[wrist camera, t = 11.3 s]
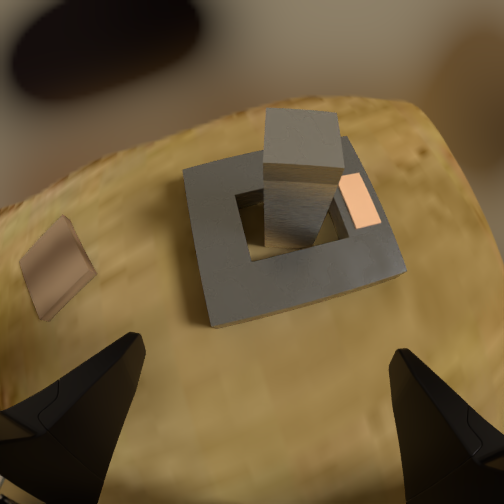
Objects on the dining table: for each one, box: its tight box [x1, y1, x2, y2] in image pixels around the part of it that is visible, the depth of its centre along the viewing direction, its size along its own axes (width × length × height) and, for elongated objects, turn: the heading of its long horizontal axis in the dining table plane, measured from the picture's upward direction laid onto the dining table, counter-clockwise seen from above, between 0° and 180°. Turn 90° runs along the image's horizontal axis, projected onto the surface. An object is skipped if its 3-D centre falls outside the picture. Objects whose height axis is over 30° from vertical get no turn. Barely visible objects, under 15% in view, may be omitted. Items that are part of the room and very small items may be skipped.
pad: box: [19, 214, 97, 321], centre depth 24 cm, size 8×8×2 cm
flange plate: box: [183, 136, 407, 329], centre depth 24 cm, size 14×16×3 cm
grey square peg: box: [263, 108, 345, 249], centre depth 19 cm, size 4×4×12 cm
